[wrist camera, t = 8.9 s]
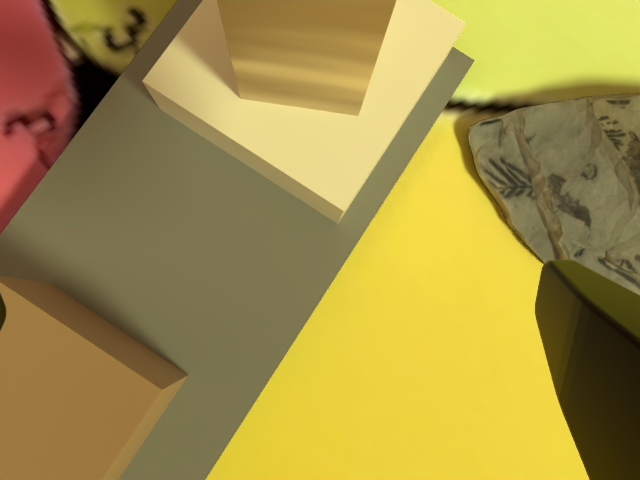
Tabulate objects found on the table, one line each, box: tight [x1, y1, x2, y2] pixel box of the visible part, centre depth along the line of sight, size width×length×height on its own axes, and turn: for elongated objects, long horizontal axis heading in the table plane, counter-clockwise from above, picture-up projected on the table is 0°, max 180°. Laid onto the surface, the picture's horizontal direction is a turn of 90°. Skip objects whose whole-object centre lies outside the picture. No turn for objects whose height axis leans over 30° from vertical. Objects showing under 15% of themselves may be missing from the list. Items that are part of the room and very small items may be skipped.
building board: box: [0, 0, 474, 480], centre depth 19 cm, size 23×11×5 cm, turn 147°
